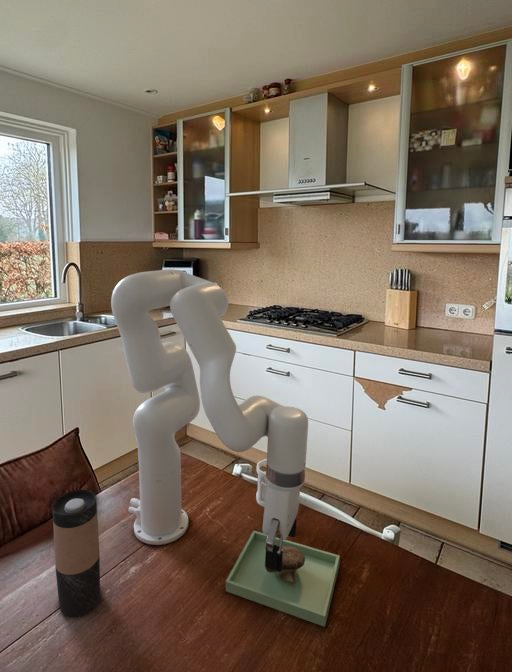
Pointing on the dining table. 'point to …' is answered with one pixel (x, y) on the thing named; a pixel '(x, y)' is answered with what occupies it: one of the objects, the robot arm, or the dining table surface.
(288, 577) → the mushroom
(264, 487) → the white open cylindrical frame
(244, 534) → the dining table surface
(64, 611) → the travel mug
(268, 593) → the tray
